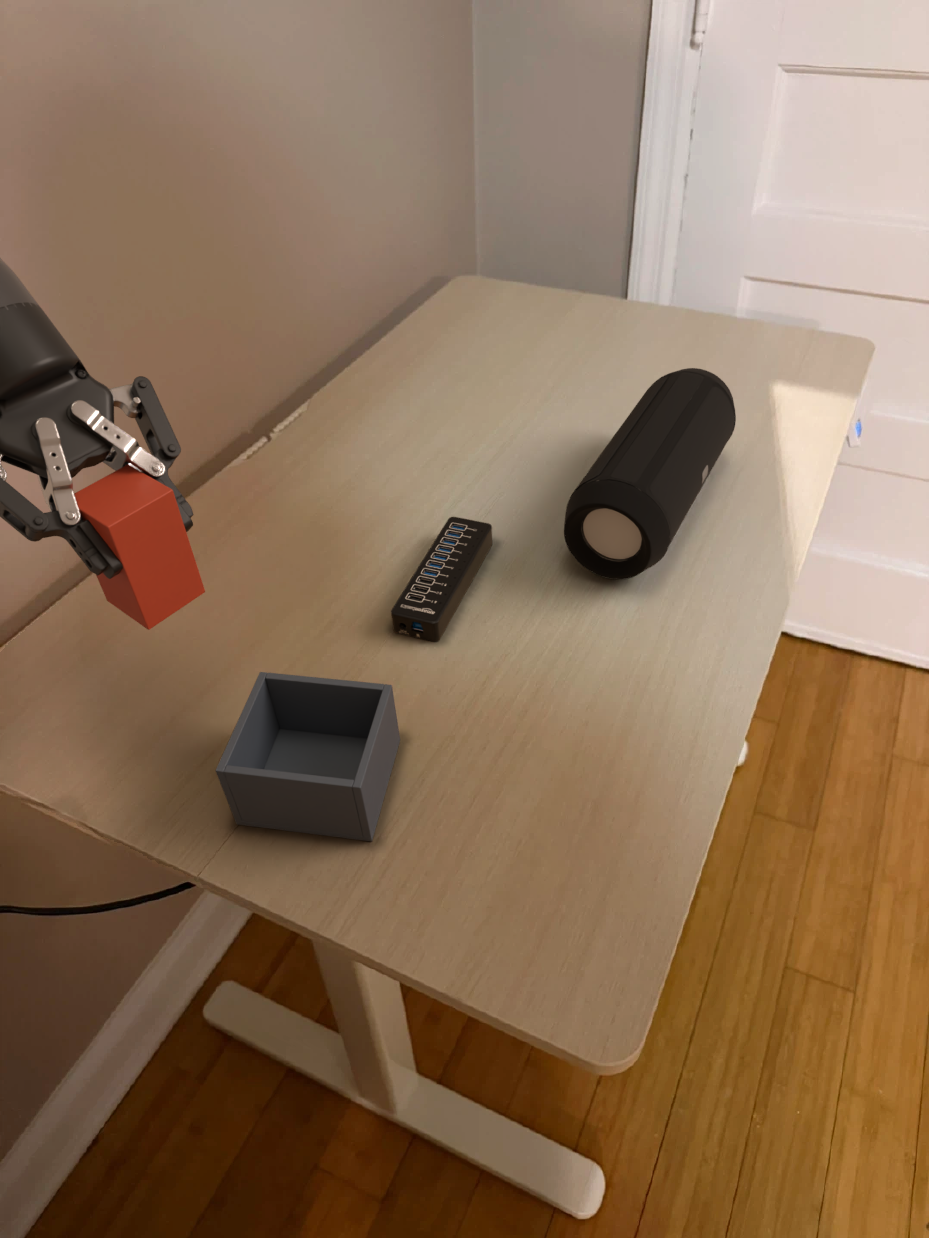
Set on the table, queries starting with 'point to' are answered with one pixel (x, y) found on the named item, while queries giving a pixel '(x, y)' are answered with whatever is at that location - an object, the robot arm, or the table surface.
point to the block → (142, 545)
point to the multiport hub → (442, 579)
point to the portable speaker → (649, 474)
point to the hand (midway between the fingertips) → (152, 550)
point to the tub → (311, 755)
